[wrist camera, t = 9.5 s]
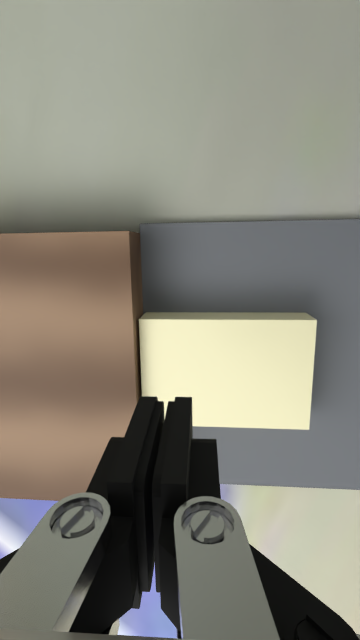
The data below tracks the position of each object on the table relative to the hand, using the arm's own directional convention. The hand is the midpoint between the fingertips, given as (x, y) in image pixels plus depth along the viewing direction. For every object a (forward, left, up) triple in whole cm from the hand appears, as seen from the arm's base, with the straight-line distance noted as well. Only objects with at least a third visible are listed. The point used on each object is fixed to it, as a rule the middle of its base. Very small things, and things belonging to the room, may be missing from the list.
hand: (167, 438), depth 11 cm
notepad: (+1, +2, -9) cm, 10 cm away
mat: (+1, +4, -10) cm, 11 cm away
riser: (+1, -10, -10) cm, 14 cm away
